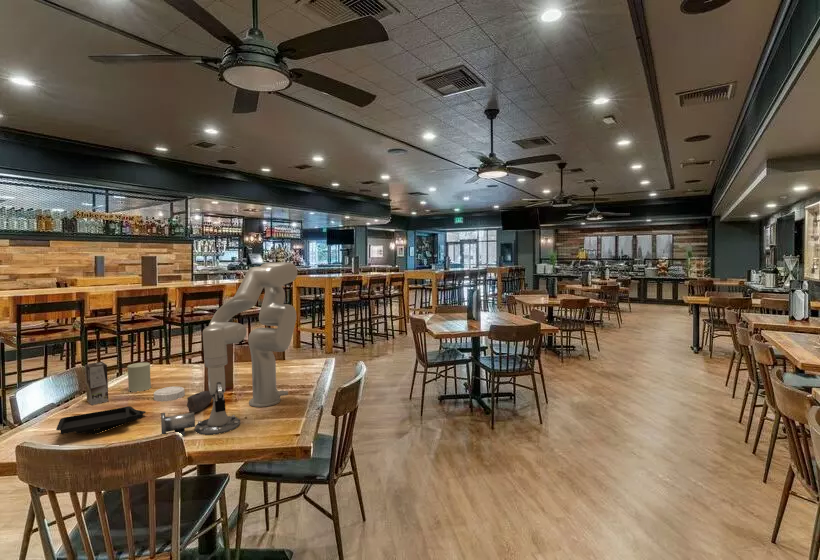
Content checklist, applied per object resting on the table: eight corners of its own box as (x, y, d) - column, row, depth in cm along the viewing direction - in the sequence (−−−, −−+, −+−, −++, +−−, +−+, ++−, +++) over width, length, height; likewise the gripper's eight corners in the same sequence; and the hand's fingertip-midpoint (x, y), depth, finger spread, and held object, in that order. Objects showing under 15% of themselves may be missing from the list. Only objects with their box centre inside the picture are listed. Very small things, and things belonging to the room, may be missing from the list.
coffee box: (109, 401, 186) (107, 364, 185) (91, 405, 181) (89, 367, 180) (104, 397, 192) (102, 361, 191) (86, 400, 187) (84, 364, 186)
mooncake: (157, 394, 195) (157, 387, 195) (186, 392, 199) (186, 384, 198) (150, 403, 183) (150, 395, 183) (182, 400, 187) (181, 392, 187)
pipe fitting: (237, 415, 167) (236, 395, 166) (243, 429, 154) (242, 406, 153) (162, 429, 154) (161, 407, 154) (162, 445, 141) (160, 420, 141)
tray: (113, 411, 174) (112, 398, 174) (163, 415, 169) (162, 402, 169) (35, 443, 145) (34, 428, 144) (92, 448, 140) (92, 432, 140)
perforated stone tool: (206, 402, 183) (205, 386, 183) (217, 402, 183) (217, 386, 182) (182, 415, 169) (182, 397, 168) (195, 415, 168) (194, 398, 167)
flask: (233, 420, 160) (232, 393, 159) (220, 428, 153) (219, 400, 152) (215, 419, 161) (214, 392, 160) (202, 426, 154) (201, 399, 153)
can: (123, 390, 201) (122, 365, 200) (142, 385, 209) (141, 360, 209) (137, 392, 197) (136, 367, 197) (155, 387, 206) (154, 362, 205)
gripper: (202, 357, 161) (205, 401, 163) (206, 368, 146) (209, 417, 148) (224, 354, 165) (227, 397, 166) (230, 364, 150) (233, 412, 151)
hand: (219, 406), depth 157 cm, fingers open, 9 cm apart
